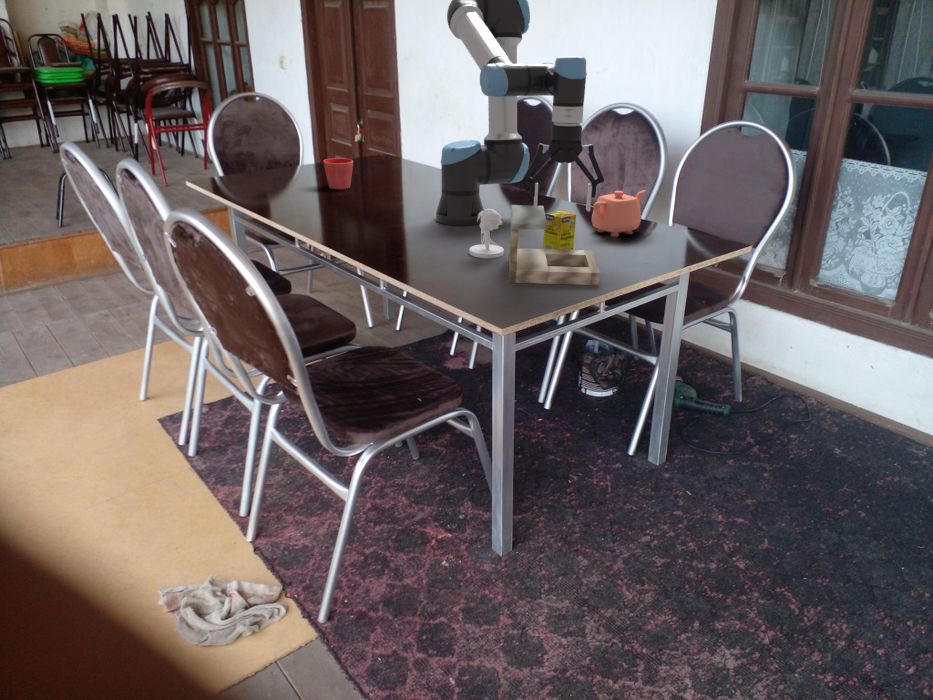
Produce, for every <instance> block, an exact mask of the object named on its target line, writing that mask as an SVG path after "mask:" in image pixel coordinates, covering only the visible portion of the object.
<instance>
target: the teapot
mask: <svg viewBox="0 0 933 700" xmlns="http://www.w3.org/2000/svg"><path fill="white" fill-rule="evenodd" d="M646 191H647V190H646V189H644V190H640V191H638V192H637V194H636V195H635V196H632V195H629V194H625V193H624V192H625V191H622V190H615V191H614V192H613V193H609V194H604V195H600V196H599V197H598V198H597V201H596V202H594V203H593V210H592V215H591V223H592V226H593V227H594V228H596V232H597V231H598V233H605V232H606V233H607V232H608V233H610V237H613V238H617V237H619V236H620V234H619V233H625V235H626V234H627V235H633V234H634V232H633V230H634V231H635V230H636V229H638V228H639V226H640V225H641V220H642V219H641V218H642V214H641V213H642V212H641V210H642V209H641V200H642V197H643V195H644V194H645V193H646Z"/></svg>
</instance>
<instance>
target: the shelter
mask: <svg viewBox="0 0 933 700" xmlns="http://www.w3.org/2000/svg"><path fill="white" fill-rule="evenodd" d="M545 214H546V212H545V207H544V205H537V206H534V205H528V204H527V205H525V204H523V205H521V204H520V205H519V204H511V207H510V233H509V253H508V255H509V257H508V263H509V264H508V265H509V267H508V268H509V269H508V271H509V274H508V275H509V283H511V284H512V283H516V284H518V283H519V284H548V285H581V286H584V285H585V286H600V279H601V271H600V269H599V266H598V263H597V261H596V258H595V257H594V252H593V251H592V250H591V249H590V250H589V249H588V250H586V249H573V250H557V249H543V248H518V246H519V243H518V241H519V230H543V231H544V230H547V221H546V216H545Z"/></svg>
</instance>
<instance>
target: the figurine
mask: <svg viewBox="0 0 933 700" xmlns="http://www.w3.org/2000/svg"><path fill="white" fill-rule="evenodd" d="M480 216H481V223H479V224H478V225H479V227H480V229H481V230H480V235H481V236H480V237H481V238H480V239H481V241H480V242H481V244H475V245H472V246H470V247H469V251H468V252H469V255H470V256H472V257H475V258H478V259H498V258H500V257H502V256H504V254H505V251H504V250H505V249H504V248H503V247H502V246H501V245H498V243H496V242H495V241H494V240H492V239H491V232H493V230H498V229H499V226H500V225H501V226H502V225H503V221H502V219H503V216H501V215H500V214H499V212H497V211H496V210H495V209H492V208H485V209H484V211H481V212H480V213H479V214H478V219H479V218H480ZM478 219H477V222H478Z"/></svg>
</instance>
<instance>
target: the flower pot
mask: <svg viewBox="0 0 933 700" xmlns="http://www.w3.org/2000/svg"><path fill="white" fill-rule="evenodd" d="M323 166H324V171H325V172H324V173H325V175H326V176H325V177H326V182H327V185H328V187H329V189H332V190H333V189H335V190H346V188H347V189H349V188H350V187H351V182H352V177H353V176H352V173H353V168H354V160H353V159H351V158H345V157H344V158H343V157H342V158H341V157H334V158H333V157H332V158H326V159H324V160H323Z"/></svg>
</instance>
